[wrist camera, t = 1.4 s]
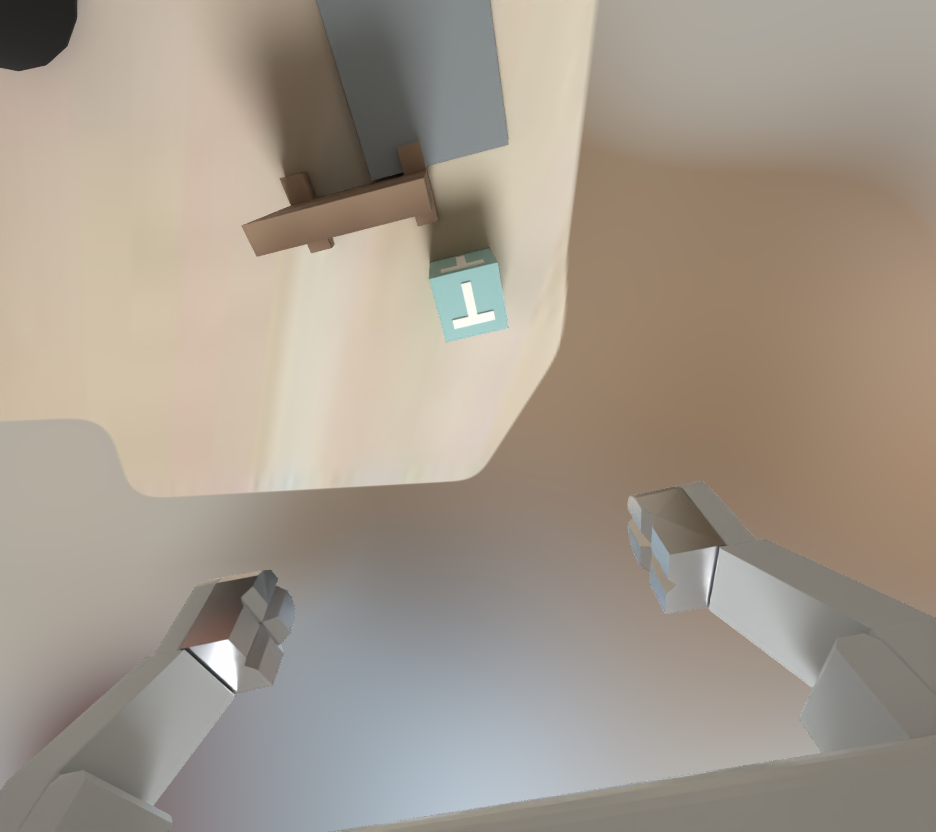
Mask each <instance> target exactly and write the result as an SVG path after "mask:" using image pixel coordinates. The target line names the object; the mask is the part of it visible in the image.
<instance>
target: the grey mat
mask: <svg viewBox="0 0 936 832" xmlns="http://www.w3.org/2000/svg"><path fill="white" fill-rule="evenodd" d="M316 1H317V4H318V7H319V11H320V14H321V17H322V20H323V24H324V27H325V30H326V33H327V37H328V40H329V43H330V46H331V50H332V53H333V56H334V59H335V63H336V66H337V69H338V72H339V76H340V79H341V82H342V85H343V89H344V92H345V95H346V98H347V102H348V105H349V108H350V111H351V115H352V118H353V121H354V124H355V128H356V131H357V134H358V137H359V141H360V144H361V147H362V150H363V154H364V157H365V160H366V163H367V167H368V170H369V173H370V176H371V180H376V179H380V178H384V177H387V176H391V175H395V174H399V173H403V169H402V165H401V161H400V158H399V154H398V150H397V147H399V146H403V145H407V144H411V143H414V142H418V141H420V144H421V148H422V152H423V157H424V161H425V165H426V166H429V165H433V164H437V163H441V162H444V161H448V160H452V159H456V158H460V157H463V156H467V155H471V154H475V153H479V152H482V151H486V150H490V149H494V148H498V147H501V146H505V145H509V144H508V136H507V128H506V121H505V113H504V105H503V98H502V90H501V82H500V75H499V67H498V59H497V52H496V44H495V36H494V29H493V21H492V13H491V6H490V0H316Z"/></svg>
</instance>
